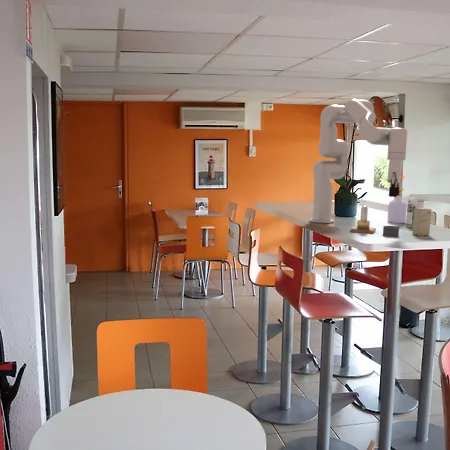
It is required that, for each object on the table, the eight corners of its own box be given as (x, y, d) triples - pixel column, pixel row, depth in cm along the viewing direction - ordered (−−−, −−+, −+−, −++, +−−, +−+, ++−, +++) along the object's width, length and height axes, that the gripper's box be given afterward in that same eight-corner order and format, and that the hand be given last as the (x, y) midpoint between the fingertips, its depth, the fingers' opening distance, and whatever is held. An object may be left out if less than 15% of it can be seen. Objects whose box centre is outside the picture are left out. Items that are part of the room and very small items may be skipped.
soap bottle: (408, 223, 297) (412, 176, 294) (396, 223, 293) (399, 176, 289) (396, 220, 305) (399, 176, 302) (383, 221, 301) (387, 175, 297)
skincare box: (417, 235, 249) (419, 208, 247) (411, 234, 253) (413, 207, 251) (429, 235, 251) (432, 208, 249) (423, 234, 255) (425, 207, 253)
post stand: (353, 229, 263) (355, 204, 261) (375, 231, 259) (377, 205, 258) (350, 231, 254) (351, 205, 252) (372, 233, 250) (374, 207, 249)
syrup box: (405, 226, 281) (407, 197, 279) (414, 226, 283) (416, 198, 281) (412, 228, 276) (414, 198, 274) (422, 228, 278) (424, 199, 276)
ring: (384, 234, 250) (384, 225, 250) (398, 235, 248) (399, 226, 247) (382, 235, 244) (382, 226, 244) (397, 237, 242) (398, 228, 241)
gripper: (389, 156, 251) (387, 194, 253) (385, 156, 235) (382, 196, 237) (407, 157, 248) (404, 195, 250) (403, 156, 232) (401, 197, 234)
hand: (393, 196), depth 244 cm, fingers open, 9 cm apart
